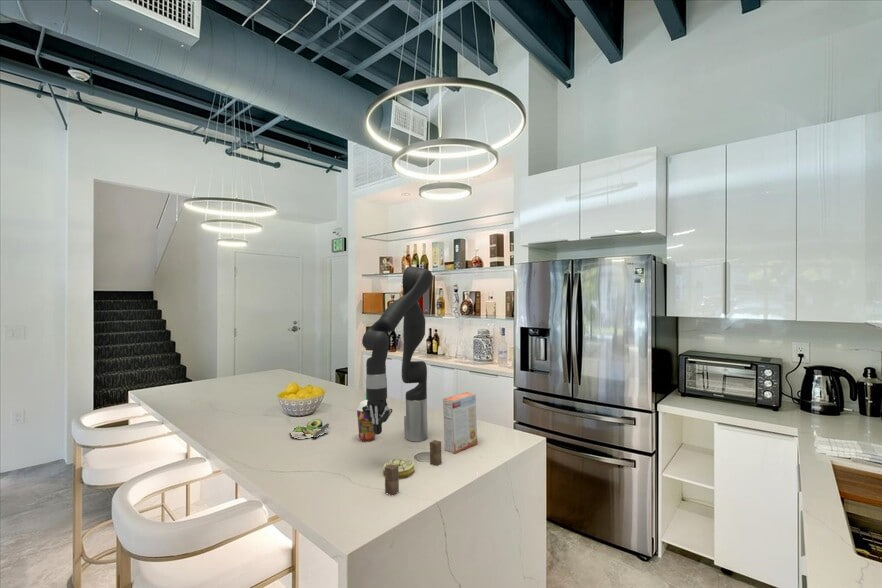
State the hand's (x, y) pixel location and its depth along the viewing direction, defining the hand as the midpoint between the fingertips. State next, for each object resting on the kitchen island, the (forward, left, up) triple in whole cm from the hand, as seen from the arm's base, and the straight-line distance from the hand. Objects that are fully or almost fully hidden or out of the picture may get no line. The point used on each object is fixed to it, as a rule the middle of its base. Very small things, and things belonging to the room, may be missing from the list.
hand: (377, 433), depth 145 cm
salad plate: (-53, +13, -13) cm, 56 cm away
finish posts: (+17, 0, -12) cm, 21 cm away
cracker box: (+17, +31, -12) cm, 37 cm away
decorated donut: (+10, 0, -12) cm, 16 cm away
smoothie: (-23, +19, -12) cm, 32 cm away
